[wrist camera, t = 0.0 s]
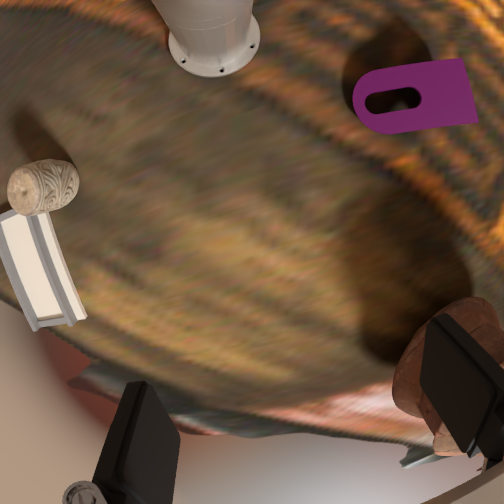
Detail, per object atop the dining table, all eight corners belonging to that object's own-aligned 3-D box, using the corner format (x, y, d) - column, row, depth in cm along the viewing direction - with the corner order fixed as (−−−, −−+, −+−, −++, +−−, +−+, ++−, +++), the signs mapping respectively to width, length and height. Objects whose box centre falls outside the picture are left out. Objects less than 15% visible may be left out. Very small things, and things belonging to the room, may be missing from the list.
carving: (71, 149, 40) (26, 154, 29) (89, 192, 42) (48, 209, 31) (43, 168, 41) (-4, 179, 29) (60, 210, 43) (17, 230, 32)
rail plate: (-7, 218, 42) (-17, 222, 39) (43, 195, 42) (33, 198, 39) (34, 324, 50) (27, 332, 47) (87, 315, 49) (80, 324, 46)
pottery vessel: (405, 271, 49) (520, 379, 21) (493, 287, 52) (586, 361, 24) (356, 387, 57) (408, 509, 29) (445, 383, 60) (505, 471, 32)
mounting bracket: (364, 134, 47) (464, 120, 39) (362, 139, 40) (478, 122, 32) (349, 81, 44) (449, 65, 36) (344, 76, 37) (462, 58, 29)
